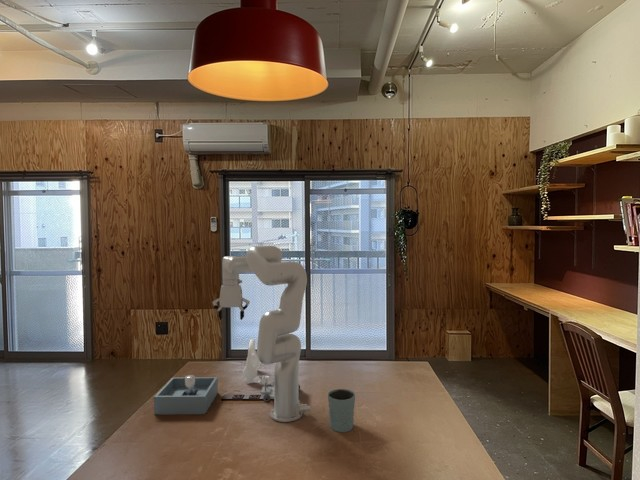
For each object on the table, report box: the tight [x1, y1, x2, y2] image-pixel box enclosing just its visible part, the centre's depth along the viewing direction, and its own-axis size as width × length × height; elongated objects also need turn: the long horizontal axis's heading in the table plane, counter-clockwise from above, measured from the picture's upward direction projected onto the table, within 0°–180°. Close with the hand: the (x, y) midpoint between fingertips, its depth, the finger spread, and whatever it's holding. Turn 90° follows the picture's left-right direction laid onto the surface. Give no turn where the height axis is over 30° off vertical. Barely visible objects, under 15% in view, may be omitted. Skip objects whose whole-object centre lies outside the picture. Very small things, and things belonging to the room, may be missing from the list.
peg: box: [185, 374, 196, 396], centre depth 171 cm, size 4×4×10 cm
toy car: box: [257, 375, 301, 402], centre depth 175 cm, size 18×10×12 cm
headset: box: [242, 338, 261, 385], centre depth 197 cm, size 20×7×18 cm, turn 4°
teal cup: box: [327, 388, 356, 433], centre depth 148 cm, size 10×10×12 cm
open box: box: [153, 376, 219, 415], centre depth 168 cm, size 20×20×7 cm
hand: (231, 319), depth 188 cm, fingers open, 9 cm apart
